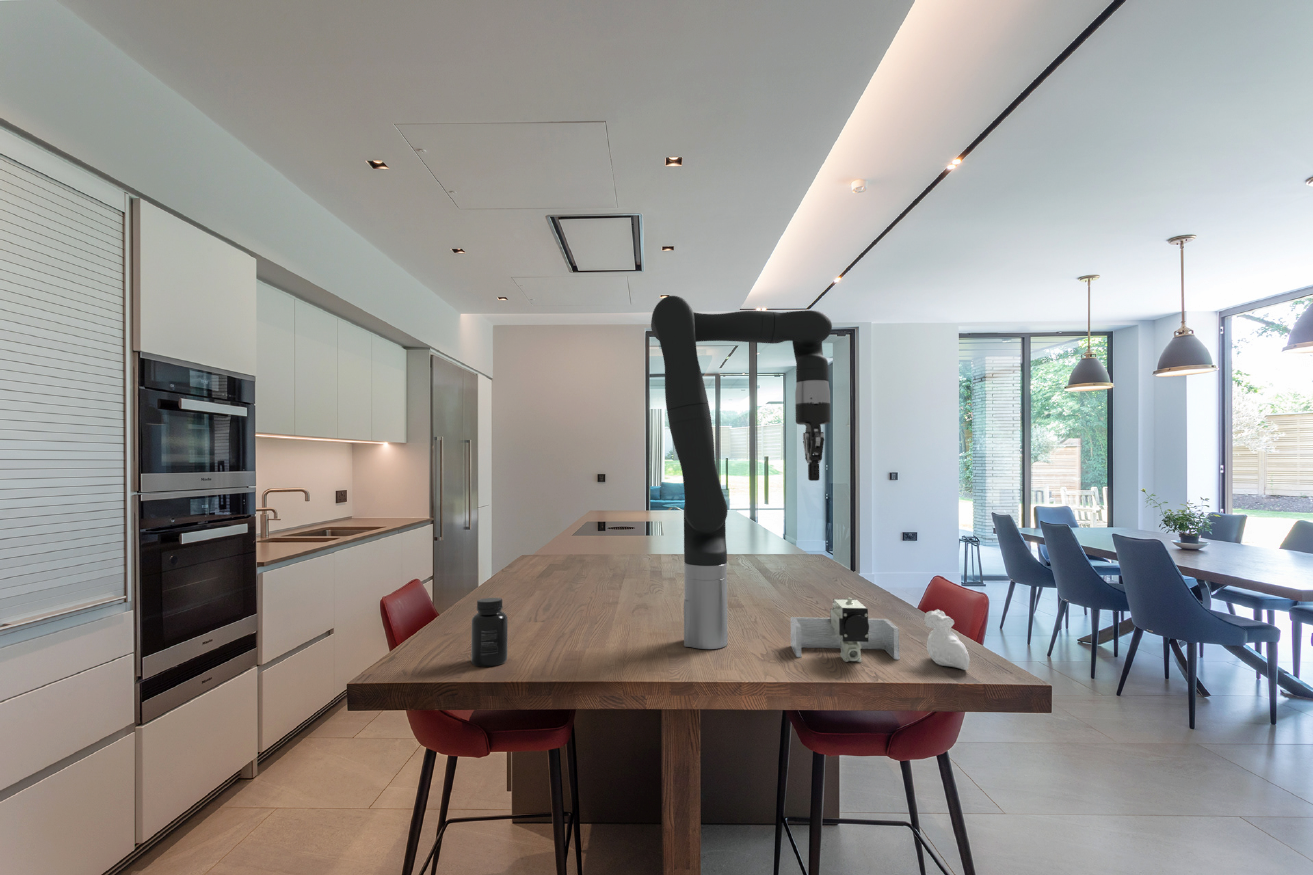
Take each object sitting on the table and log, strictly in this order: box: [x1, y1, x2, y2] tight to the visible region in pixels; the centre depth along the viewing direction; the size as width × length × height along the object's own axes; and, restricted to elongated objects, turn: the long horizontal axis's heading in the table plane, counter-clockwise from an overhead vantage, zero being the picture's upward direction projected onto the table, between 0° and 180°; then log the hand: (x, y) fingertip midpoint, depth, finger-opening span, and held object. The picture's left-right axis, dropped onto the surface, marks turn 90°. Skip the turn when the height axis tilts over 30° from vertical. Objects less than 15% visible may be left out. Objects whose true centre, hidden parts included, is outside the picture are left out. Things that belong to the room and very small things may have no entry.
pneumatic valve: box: [829, 597, 869, 663], centre depth 120 cm, size 6×12×12 cm, turn 175°
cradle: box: [790, 616, 901, 661], centre depth 124 cm, size 20×8×6 cm, turn 85°
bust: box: [923, 608, 971, 671], centre depth 117 cm, size 12×8×11 cm
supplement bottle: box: [470, 597, 509, 668], centre depth 118 cm, size 7×7×12 cm
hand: (813, 480), depth 134 cm, fingers closed
